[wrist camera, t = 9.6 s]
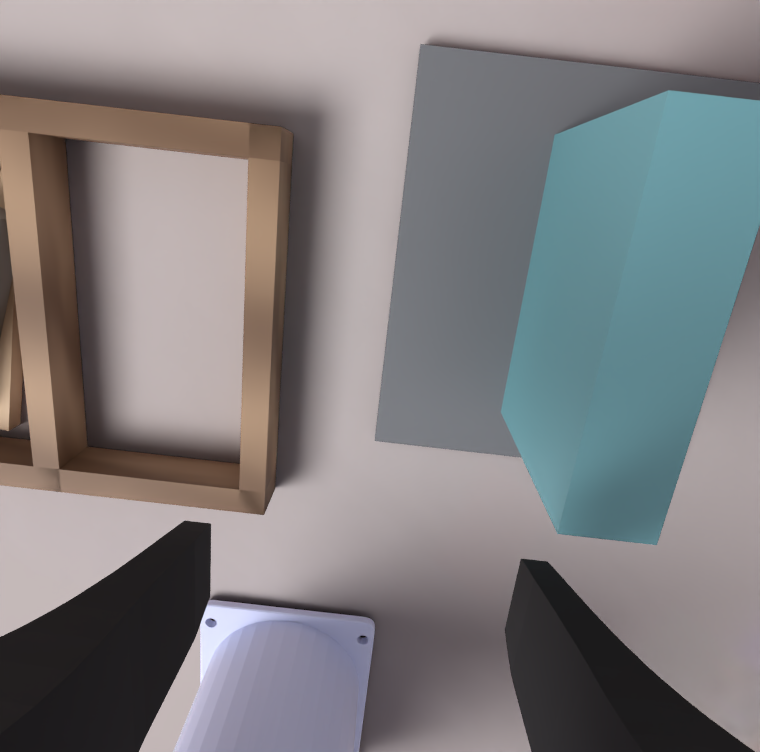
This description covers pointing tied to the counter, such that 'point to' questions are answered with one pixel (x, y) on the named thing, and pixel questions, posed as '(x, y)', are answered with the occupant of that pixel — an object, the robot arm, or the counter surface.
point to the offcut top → (4, 267)
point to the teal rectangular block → (630, 305)
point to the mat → (483, 228)
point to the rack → (60, 313)
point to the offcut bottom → (10, 360)
